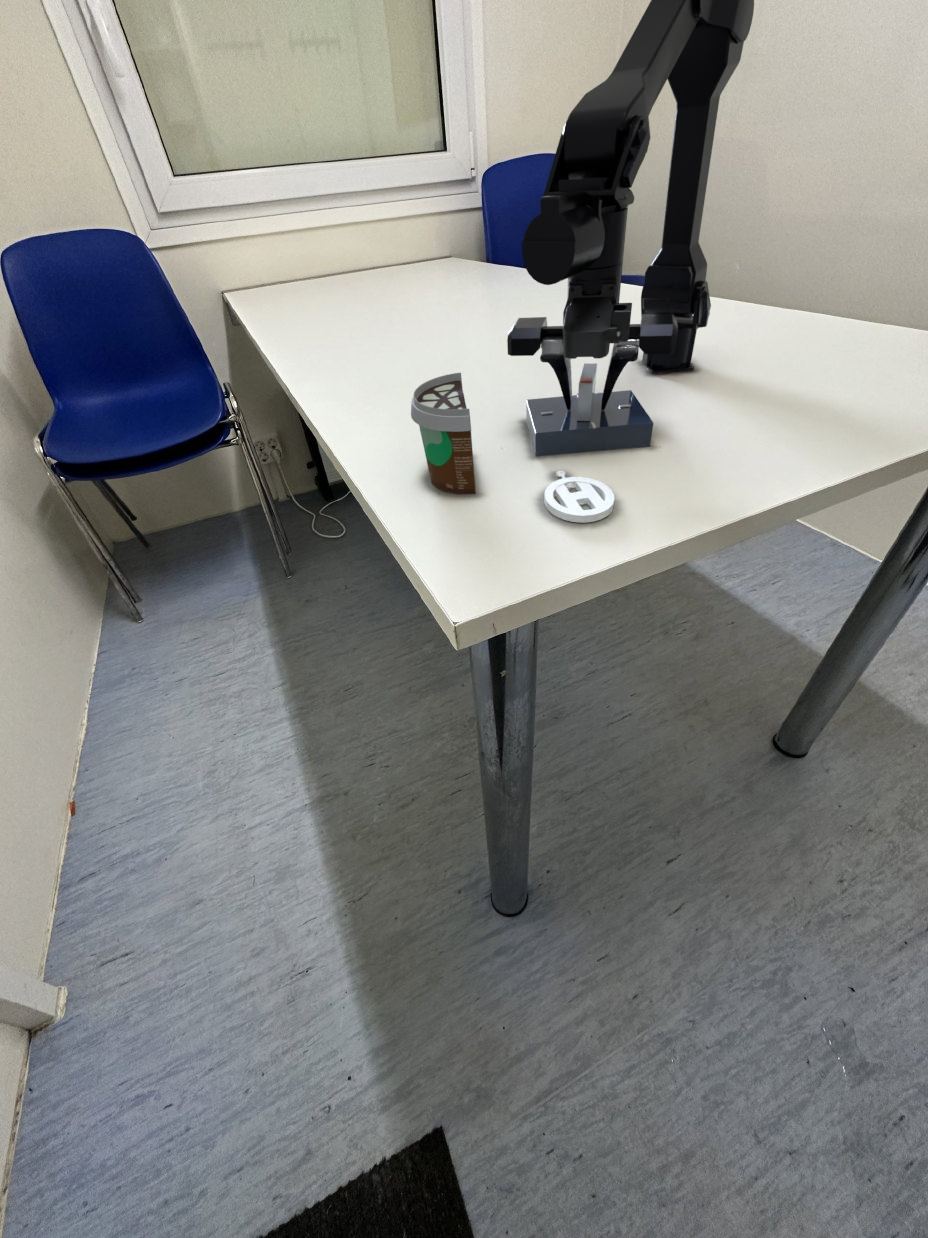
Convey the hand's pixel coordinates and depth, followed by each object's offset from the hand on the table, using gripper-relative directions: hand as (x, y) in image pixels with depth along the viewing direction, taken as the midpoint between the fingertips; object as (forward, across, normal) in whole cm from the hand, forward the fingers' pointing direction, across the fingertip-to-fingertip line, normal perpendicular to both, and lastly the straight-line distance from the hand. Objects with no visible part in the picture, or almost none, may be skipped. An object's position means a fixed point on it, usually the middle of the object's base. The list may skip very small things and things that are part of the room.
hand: (585, 408), depth 69 cm
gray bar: (0, 0, 0) cm, 0 cm away
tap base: (+3, 0, 0) cm, 3 cm away
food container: (+3, -15, -13) cm, 20 cm away
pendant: (+3, 0, -16) cm, 17 cm away
